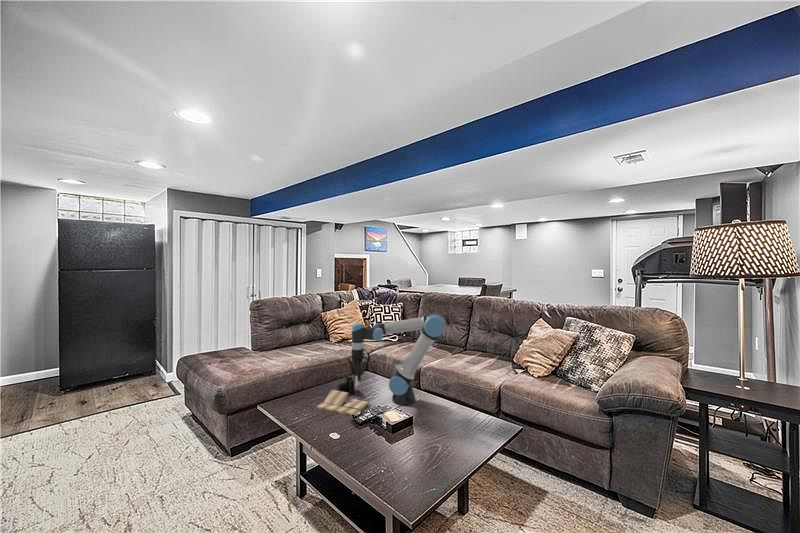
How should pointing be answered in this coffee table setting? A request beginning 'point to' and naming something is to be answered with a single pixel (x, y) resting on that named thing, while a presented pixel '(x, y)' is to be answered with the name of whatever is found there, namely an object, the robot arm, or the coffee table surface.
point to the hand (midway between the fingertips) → (357, 385)
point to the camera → (346, 385)
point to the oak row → (338, 409)
